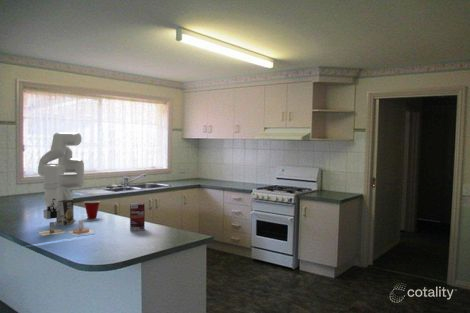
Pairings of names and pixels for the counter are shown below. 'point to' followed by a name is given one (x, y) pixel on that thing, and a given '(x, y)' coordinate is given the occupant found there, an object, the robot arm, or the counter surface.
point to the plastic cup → (91, 208)
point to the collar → (48, 213)
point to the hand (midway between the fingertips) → (51, 216)
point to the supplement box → (137, 216)
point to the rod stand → (52, 230)
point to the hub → (81, 230)
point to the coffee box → (65, 212)
